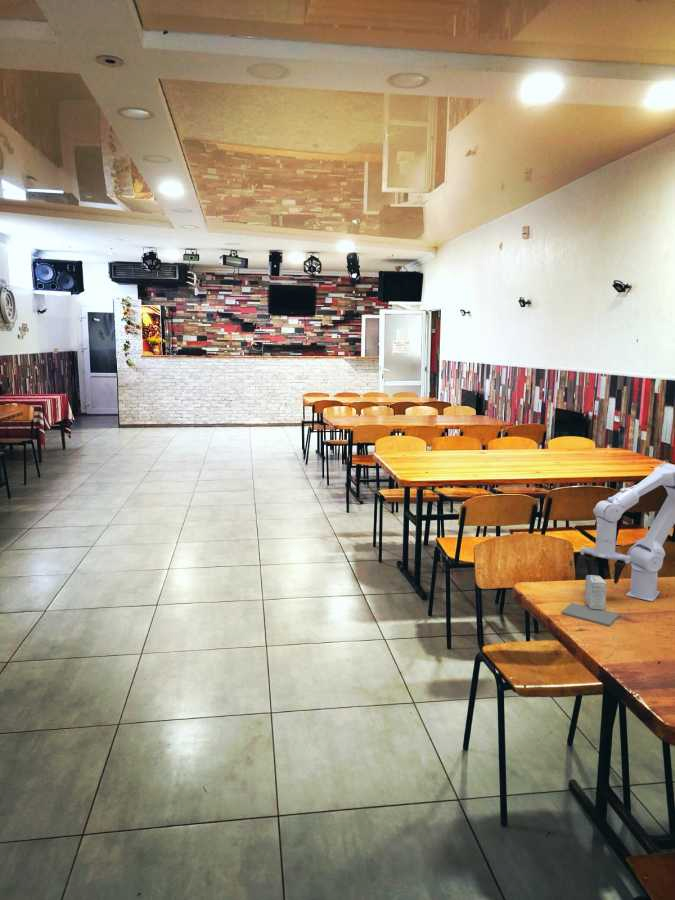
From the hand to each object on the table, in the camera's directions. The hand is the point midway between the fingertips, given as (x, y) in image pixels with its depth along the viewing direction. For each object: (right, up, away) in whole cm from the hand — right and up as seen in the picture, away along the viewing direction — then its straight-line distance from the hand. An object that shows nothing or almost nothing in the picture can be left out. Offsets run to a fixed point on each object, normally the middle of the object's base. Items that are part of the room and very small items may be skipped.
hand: (603, 579), depth 191 cm
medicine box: (-5, -7, -5) cm, 10 cm away
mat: (-9, -8, -11) cm, 16 cm away
